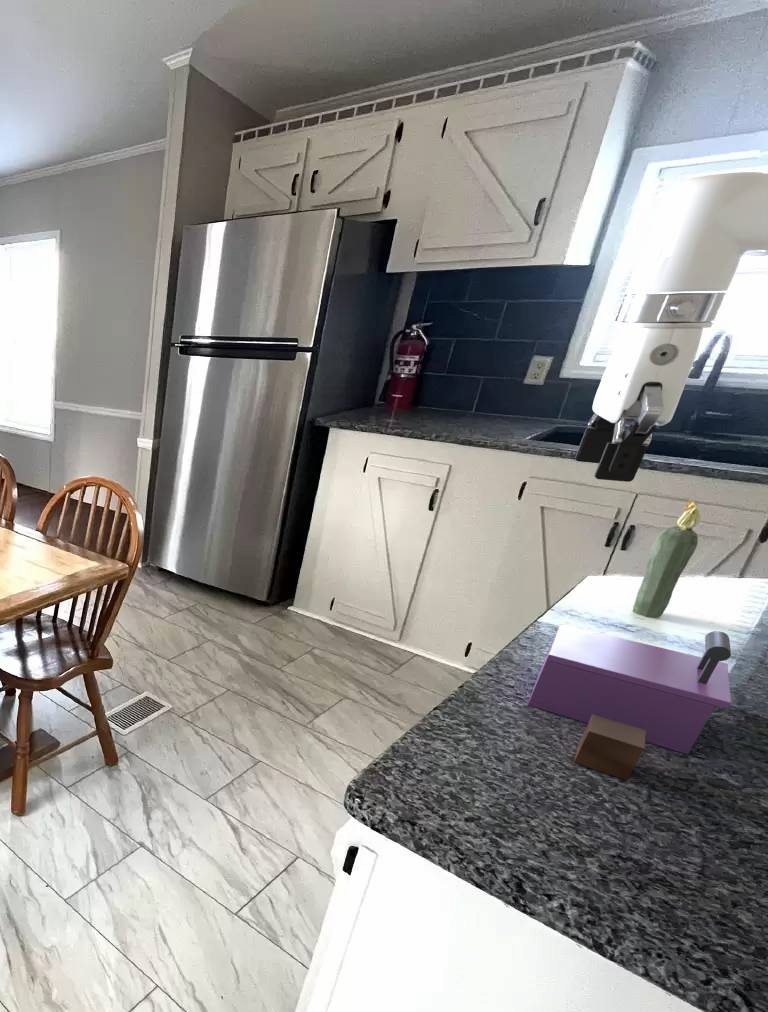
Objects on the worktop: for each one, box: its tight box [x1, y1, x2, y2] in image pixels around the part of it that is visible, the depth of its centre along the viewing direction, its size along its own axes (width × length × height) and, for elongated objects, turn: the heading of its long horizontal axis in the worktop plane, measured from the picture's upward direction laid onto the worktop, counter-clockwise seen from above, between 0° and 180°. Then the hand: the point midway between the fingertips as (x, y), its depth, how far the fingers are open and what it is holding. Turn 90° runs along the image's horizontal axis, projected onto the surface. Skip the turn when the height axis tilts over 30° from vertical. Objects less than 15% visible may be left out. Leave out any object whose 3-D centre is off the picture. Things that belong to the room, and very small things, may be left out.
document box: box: [526, 631, 716, 755], centre depth 79 cm, size 14×11×7 cm
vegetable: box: [632, 499, 701, 619], centre depth 96 cm, size 4×4×20 cm
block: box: [573, 714, 646, 781], centre depth 71 cm, size 4×4×4 cm
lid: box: [546, 623, 732, 709], centre depth 76 cm, size 15×11×6 cm
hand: (601, 470), depth 75 cm, fingers open, 9 cm apart
